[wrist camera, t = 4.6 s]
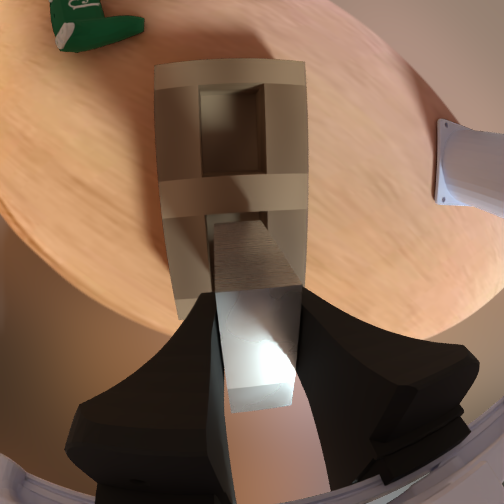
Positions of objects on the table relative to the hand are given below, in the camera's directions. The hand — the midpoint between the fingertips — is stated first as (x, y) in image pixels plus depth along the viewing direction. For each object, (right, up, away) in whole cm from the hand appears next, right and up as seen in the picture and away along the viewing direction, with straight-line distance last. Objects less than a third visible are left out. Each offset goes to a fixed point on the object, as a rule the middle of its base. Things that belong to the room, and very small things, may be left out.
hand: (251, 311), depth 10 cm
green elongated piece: (-11, +20, +1) cm, 23 cm away
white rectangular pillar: (-1, +2, +4) cm, 5 cm away
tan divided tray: (-1, +7, +8) cm, 10 cm away
